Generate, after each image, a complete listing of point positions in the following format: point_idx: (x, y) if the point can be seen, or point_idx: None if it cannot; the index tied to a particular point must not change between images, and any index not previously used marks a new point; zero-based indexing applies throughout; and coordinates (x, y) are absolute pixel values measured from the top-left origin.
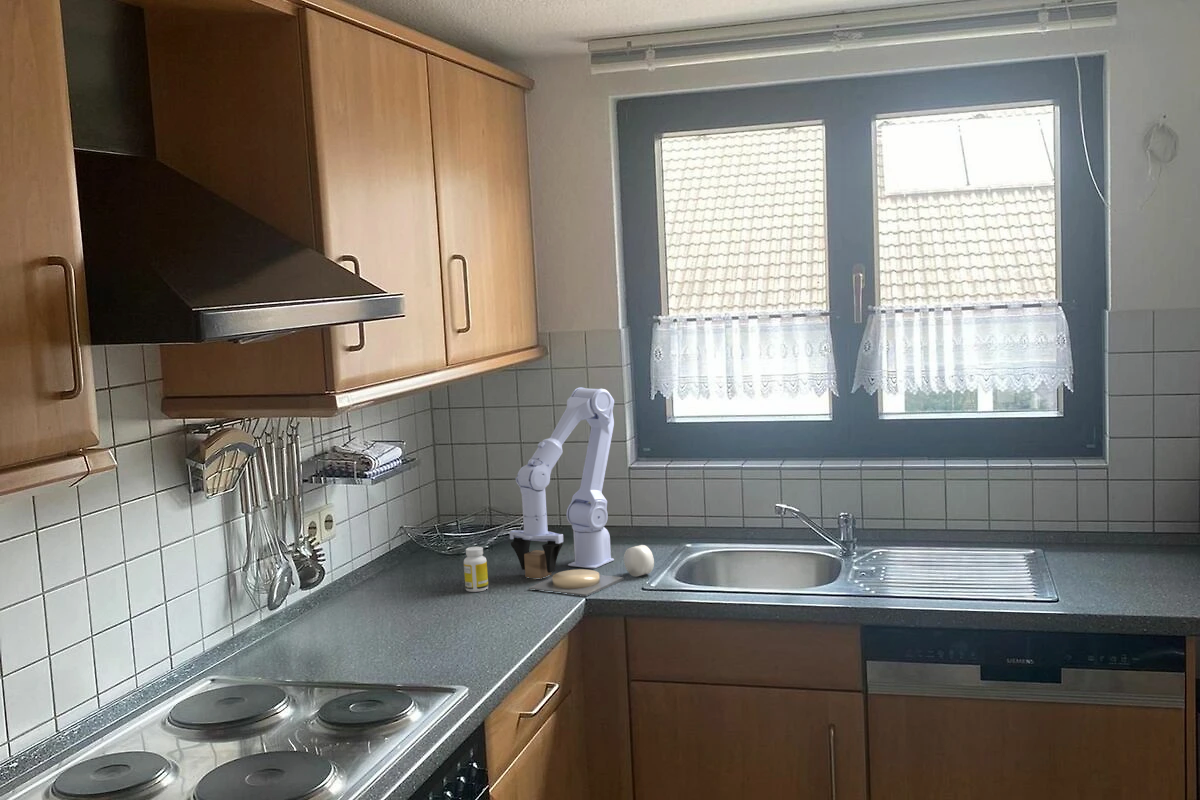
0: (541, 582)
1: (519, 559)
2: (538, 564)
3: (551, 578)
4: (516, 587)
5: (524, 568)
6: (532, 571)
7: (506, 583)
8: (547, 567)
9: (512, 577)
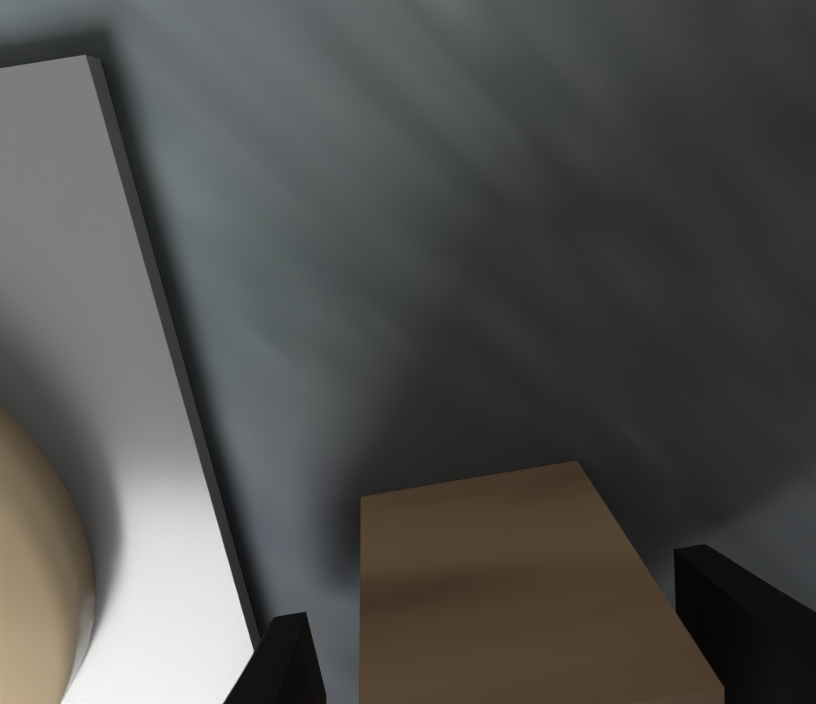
0: (155, 354)
1: (801, 614)
2: (383, 619)
3: (206, 546)
4: (365, 82)
5: (679, 568)
6: (488, 530)
7: (634, 166)
8: (276, 651)
9: (746, 409)
